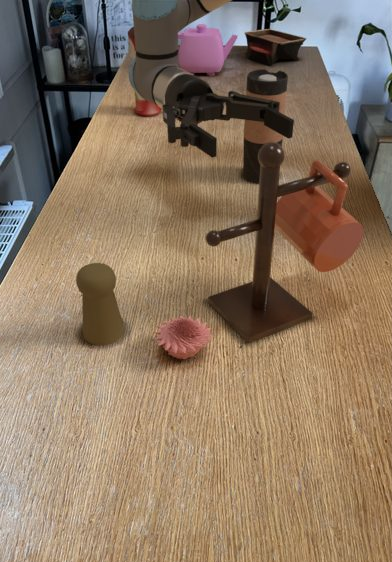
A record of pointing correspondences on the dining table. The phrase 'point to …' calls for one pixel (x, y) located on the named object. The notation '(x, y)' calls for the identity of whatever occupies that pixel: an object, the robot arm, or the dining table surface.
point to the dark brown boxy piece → (272, 46)
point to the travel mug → (257, 132)
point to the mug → (319, 223)
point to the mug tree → (264, 257)
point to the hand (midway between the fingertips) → (254, 138)
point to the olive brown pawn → (99, 304)
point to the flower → (183, 336)
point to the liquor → (142, 105)
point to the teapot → (203, 50)
